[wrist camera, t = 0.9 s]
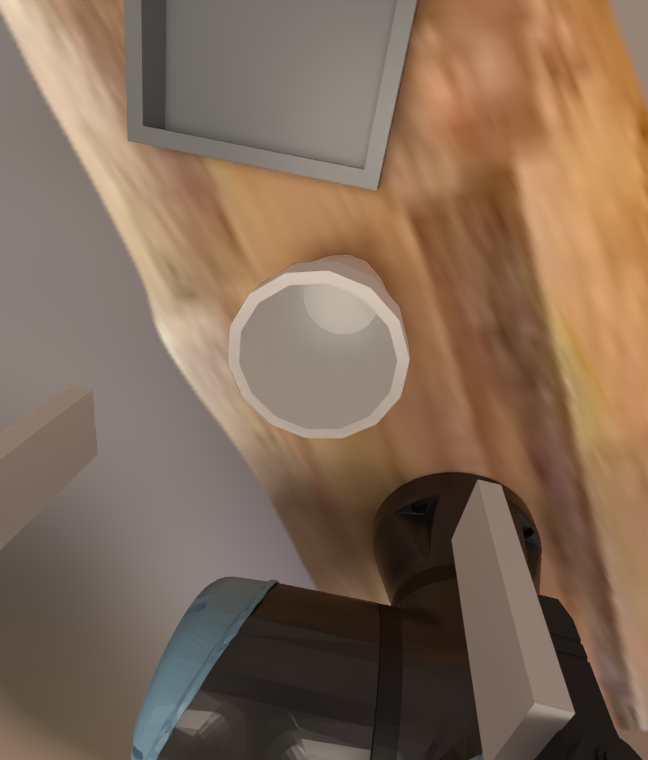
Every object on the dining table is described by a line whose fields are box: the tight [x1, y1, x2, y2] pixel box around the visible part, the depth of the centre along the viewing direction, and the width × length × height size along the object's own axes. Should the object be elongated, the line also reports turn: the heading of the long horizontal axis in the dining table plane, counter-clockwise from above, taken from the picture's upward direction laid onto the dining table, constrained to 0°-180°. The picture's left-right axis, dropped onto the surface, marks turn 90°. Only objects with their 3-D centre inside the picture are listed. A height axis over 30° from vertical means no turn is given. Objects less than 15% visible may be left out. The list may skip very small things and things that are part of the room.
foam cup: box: [228, 254, 410, 438], centre depth 29 cm, size 10×9×13 cm
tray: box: [124, 0, 419, 191], centre depth 26 cm, size 16×16×4 cm
